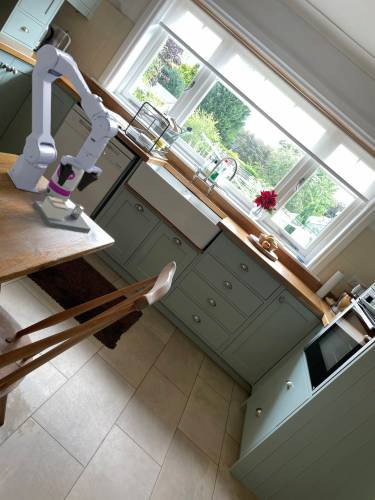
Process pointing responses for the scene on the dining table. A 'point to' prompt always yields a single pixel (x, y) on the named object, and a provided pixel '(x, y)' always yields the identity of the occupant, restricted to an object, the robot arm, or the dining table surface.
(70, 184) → the supplement can
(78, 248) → the dining table surface
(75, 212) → the post
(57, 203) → the white cube with stripe
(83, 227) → the board
